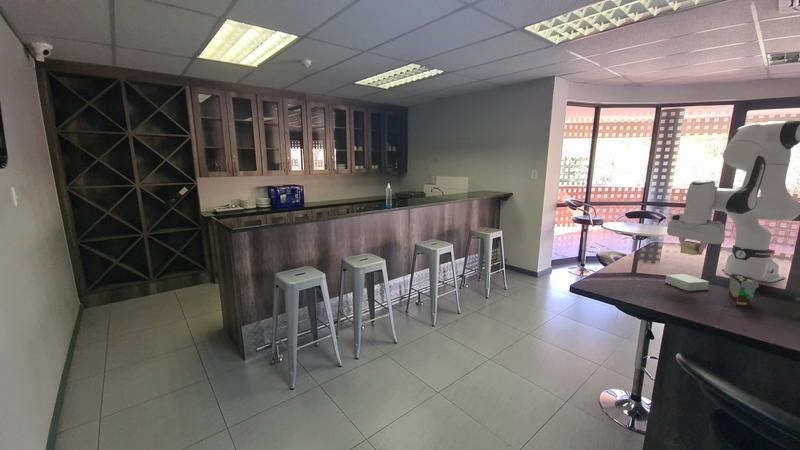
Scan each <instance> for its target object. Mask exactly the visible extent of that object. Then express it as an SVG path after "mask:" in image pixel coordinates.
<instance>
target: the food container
mask: <svg viewBox="0 0 800 450" xmlns="http://www.w3.org/2000/svg"><path fill="white" fill-rule="evenodd" d="M759 282H760V281H759V280H757V279H755V278H752V277H749V276H745V275H740V274H734V273H731V275H729V284H728V290H727V291H728V292H727V298H728V299H729V300H730V302H731V303H733V305H735V306H736V307H746V308H747V307H750V306H751V305H752V301H753V298H754V295H755V293H756V289H758V288H759V287H760V285H759V284H760V283H759Z"/></svg>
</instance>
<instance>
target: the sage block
mask: <svg viewBox="0 0 800 450" xmlns="http://www.w3.org/2000/svg"><path fill="white" fill-rule="evenodd" d="M667 283H668V285H670V284H671V285H670V286H674V287H675V286H676V287H675V288H678V289H681V290H683V291H686V290H687V292H690V291H691V292H693V291H705V290H708V289H709V283H710V281H708V280H705V279H702V278H699V277H696V276H693V275H690V274H686V273H680V274H679V273H678V274H666V276H665V284H667Z"/></svg>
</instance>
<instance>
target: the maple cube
mask: <svg viewBox="0 0 800 450" xmlns="http://www.w3.org/2000/svg"><path fill="white" fill-rule="evenodd" d="M700 243H701V241H696V240H684V241H682V244H681V243H680V249H679V250H680V251H679V252H680V253H682V254H685V255H686V254H687V255H691V256H700V255H703V252H698V251H697V247H700V246H701V245H702V244H700Z"/></svg>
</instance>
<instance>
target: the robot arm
mask: <svg viewBox="0 0 800 450" xmlns="http://www.w3.org/2000/svg"><path fill="white" fill-rule="evenodd" d="M798 144H800V120H794V119H792V120H786V121H785V120H782V121H781V120H780V121H778V120H777V121H767V122H761V123H748V124H746V125H743V126H742V125H741V126H739V127H738V128H737V129H735V130H734V131H733V133H732V134H731V139H730V141H728V144H727V145H726V148H725V149H724V151H723V153H722V158H723V161H724V162H725V163H726V164H727V166H730V167H732V168H734V169H736V170H741V171H743V172H746V173H745V176H744V179H743V182H742V185H741V186H740V187H737V188H721V187H718V186H716V182H715V181H714V180H709V179H701V180H694V181H692V182H690V184H689V185H688V188H687V193H686V196H685V208H684V210H683V213H677V214H672V215H670V216H669V217H670V218H669V219H670V221H669V222H668V225H667V229H666V233H667V235H668V236H671V237H676V238H678V241H679V244H680V245H681V244H682V241H687V240H690V241H695V242H700V244H702V245H701V246H700V247H697V251H698V252H702V253H703V252H704V250H705V248H706V247H707V246H708V245H709V244H712V245H721V244H723V243H724V242H725V236H726V234H725V230H726V224H724V223H723V222H722V221H717V220H712V218H713V217H712V215H713V211H715V212H716V211H717V212H723V213H725V214H726V215H727V216H729V218H730V219H731V220H732V222H733V224H734V226H735V240H734V244H733V245H732V248H731V253H730V254H728V256H727V259H726V263H725V266H724V267H721V271H723V272H724V273H725V274H726V275H729V276H730V275H731V273H734V274H740V275H745V276H749V277H752V278H755V279H757V280H758V282H760V281H761V282H765V283H774V282H777V281H780V280H783V279H786V276H785V275H784V274H780V273H779V270H780V268H779V267H780V266H779V264H778V263H777V262H775V261H774V260H773V259H772V258H771V254H775V253H776V250H775V249H771V248H770V244H771V240H772V233H771V231H770V230H769V229H768V228H766V227H763V226H762V225H761V224H760V222H759V220H766V221H773V222H777V221H778V222H782V221H783V222H784V221H793V220H795V219H796V218H798V217H799V216H800V201H799V199H797V198H795V197H794V196H792V194H791V193H790V192H789V190H788V188H787V183H786V180H787V174H788V169H789V166H790V161H791V156H792V148H794V147H795V146H797V145H798ZM759 191H760V194H759Z"/></svg>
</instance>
